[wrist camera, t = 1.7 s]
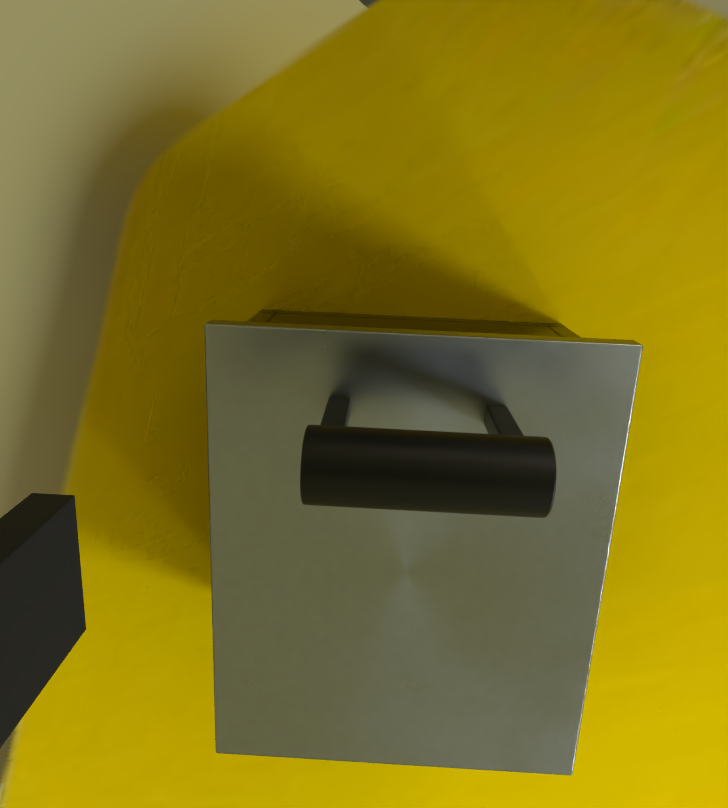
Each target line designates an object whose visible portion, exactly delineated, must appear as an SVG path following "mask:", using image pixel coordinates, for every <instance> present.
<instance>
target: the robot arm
mask: <svg viewBox="0 0 728 808" xmlns="http://www.w3.org/2000/svg"><path fill="white" fill-rule="evenodd" d="M85 630H86V624H85V612H84V601H83V589H82V578H81V566H80V555H79V543H78V531H77V520H76V508H75V497H74V495H57V494H38V493H32V494H30V495H29V496H28V497H27V498H25V499H24V500H23V501H22V502H20V503H19V504H18V505H17V506H15V507H14V508H13V509H12V510H10V511H9V512H8V513H7V514H5V515H4V516H3V517H2V518H0V748H1V746H2V745H3V744H4V742H5V741H6V739H7V738H8V737H9V735H10V734H11V732H12V731H13V730H14V728H15V727H16V726H17V724H18V723H19V721H20V720H21V719H22V717H23V716H24V714H25V713H26V712H27V710H28V709H29V708H30V706H31V705H32V703H33V702H34V701H35V699H36V698H37V696H38V695H39V694H40V692H41V691H42V689H43V688H44V687H45V685H46V684H47V682H48V681H49V680H50V678H51V677H52V676H53V674H54V673H55V671H56V670H57V669H58V667H59V666H60V664H61V663H62V662H63V660H64V659H65V657H66V656H67V655H68V653H69V652H70V651H71V649H72V648H73V646H74V645H75V644H76V642H77V641H78V639H79V638H80V637H81V635H82V634H83V632H84V631H85Z"/></svg>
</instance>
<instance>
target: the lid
mask: <svg viewBox="0 0 728 808" xmlns="http://www.w3.org/2000/svg"><path fill="white" fill-rule="evenodd" d="M642 349H643V346H642V345H641V344H639V343H638V342H636V341H634V340H617V339H597V338H576V337H555V336H535V335H514V334H494V333H473V332H452V331H432V330H411V329H391V328H370V327H349V326H329V325H308V324H288V323H267V322H247V321H226V320H211V321H209V322H208V323H206V324H205V355H206V393H207V432H208V470H209V509H210V548H211V586H212V625H213V663H214V702H215V740H216V753H225V754H241V755H257V756H273V757H289V758H304V759H320V760H336V761H352V762H368V763H383V764H399V765H415V766H431V767H447V768H462V769H478V770H494V771H510V772H525V773H541V774H557V775H572V773H573V767H574V761H575V755H576V749H577V743H578V737H579V731H580V725H581V719H582V713H583V706H584V700H585V694H586V688H587V682H588V676H589V670H590V664H591V658H592V652H593V646H594V640H595V634H596V628H597V622H598V616H599V609H600V603H601V597H602V591H603V585H604V579H605V573H606V567H607V561H608V555H609V549H610V543H611V537H612V531H613V525H614V518H615V512H616V506H617V500H618V494H619V488H620V482H621V476H622V470H623V464H624V458H625V452H626V446H627V440H628V434H629V428H630V421H631V415H632V409H633V403H634V397H635V391H636V385H637V379H638V373H639V367H640V361H641V355H642Z"/></svg>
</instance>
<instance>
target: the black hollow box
mask: <svg viewBox="0 0 728 808" xmlns="http://www.w3.org/2000/svg"><path fill="white" fill-rule="evenodd" d="M247 322H267V323H288V324H308V325H329V326H349V327H370V328H391V329H411V330H432V331H452V332H473V333H494V334H514V335H535V336H555V337H576V338H581V337H579V336H578V335H577V334H575V333H574V332H572V331H571V330H569V329H568V328H566V327H565V326H564V325H562V324H552V323H531V322H510V321H490V320H469V319H448V318H427V317H407V316H386V315H365V314H344V313H324V312H303V311H282V310H260V311H259V312H258V313H257V314H256V315H255V316H253V317H252V318H251V319H250V320H249V321H247Z"/></svg>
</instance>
